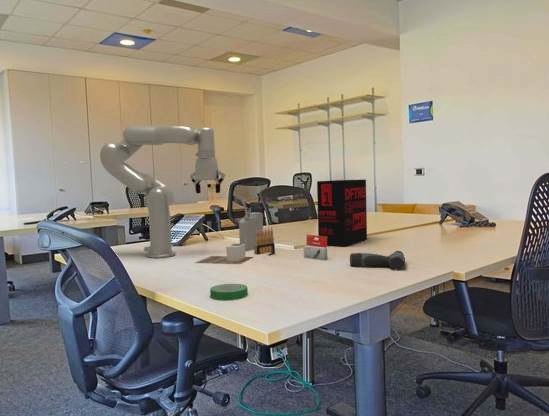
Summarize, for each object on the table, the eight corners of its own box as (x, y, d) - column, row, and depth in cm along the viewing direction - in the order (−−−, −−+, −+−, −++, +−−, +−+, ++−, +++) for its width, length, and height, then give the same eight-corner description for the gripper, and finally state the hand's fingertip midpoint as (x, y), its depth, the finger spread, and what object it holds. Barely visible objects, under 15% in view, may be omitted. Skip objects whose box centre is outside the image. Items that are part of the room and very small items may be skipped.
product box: (342, 238, 248) (341, 180, 246) (367, 240, 240) (365, 179, 238) (318, 245, 226) (317, 181, 224) (344, 247, 218) (343, 180, 216)
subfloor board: (194, 265, 183) (194, 262, 183) (211, 258, 198) (211, 255, 198) (240, 267, 177) (240, 263, 177) (254, 259, 192) (254, 256, 192)
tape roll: (219, 290, 142) (218, 282, 142) (252, 292, 139) (252, 283, 139) (204, 300, 132) (203, 291, 131) (240, 302, 128) (239, 292, 128)
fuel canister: (244, 251, 215) (242, 198, 213) (236, 250, 218) (234, 198, 216) (264, 246, 227) (262, 197, 225) (256, 246, 230) (254, 197, 228)
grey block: (226, 261, 183) (226, 246, 182) (234, 258, 191) (233, 243, 190) (238, 261, 181) (237, 246, 181) (245, 258, 189) (244, 243, 189)
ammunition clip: (257, 257, 198) (256, 230, 197) (254, 256, 200) (253, 229, 199) (275, 254, 205) (274, 227, 204) (272, 253, 207) (271, 227, 206)
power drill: (355, 260, 186) (406, 262, 180) (348, 269, 168) (404, 271, 162) (354, 247, 185) (405, 248, 179) (348, 255, 168) (404, 256, 162)
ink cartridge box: (324, 260, 186) (323, 237, 185) (303, 258, 193) (302, 235, 193) (328, 259, 188) (327, 236, 187) (307, 257, 195) (306, 234, 195)
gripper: (185, 155, 205) (187, 193, 206) (220, 154, 200) (222, 193, 201) (193, 156, 212) (194, 193, 213) (227, 154, 207) (228, 192, 208)
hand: (208, 193), depth 207 cm, fingers open, 9 cm apart
